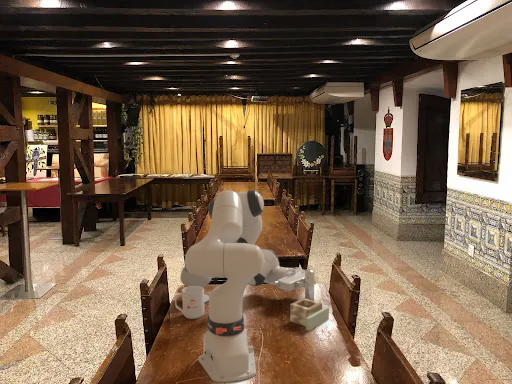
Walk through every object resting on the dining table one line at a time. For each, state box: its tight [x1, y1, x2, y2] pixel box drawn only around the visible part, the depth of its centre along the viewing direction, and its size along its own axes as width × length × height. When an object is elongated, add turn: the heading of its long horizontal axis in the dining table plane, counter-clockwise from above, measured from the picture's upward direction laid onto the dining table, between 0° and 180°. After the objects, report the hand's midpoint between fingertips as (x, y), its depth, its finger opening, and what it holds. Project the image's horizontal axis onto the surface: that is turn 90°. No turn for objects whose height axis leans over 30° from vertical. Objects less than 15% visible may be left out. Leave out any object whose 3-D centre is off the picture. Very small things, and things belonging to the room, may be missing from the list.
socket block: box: [289, 297, 323, 327], centre depth 175 cm, size 9×9×7 cm
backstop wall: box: [305, 306, 330, 332], centre depth 172 cm, size 2×14×5 cm, turn 139°
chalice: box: [179, 265, 213, 304], centre depth 198 cm, size 14×14×15 cm
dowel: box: [304, 268, 315, 301], centre depth 190 cm, size 4×4×14 cm
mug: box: [174, 286, 205, 320], centre depth 181 cm, size 12×9×11 cm
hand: (311, 284), depth 189 cm, fingers closed on dowel, 4 cm apart
